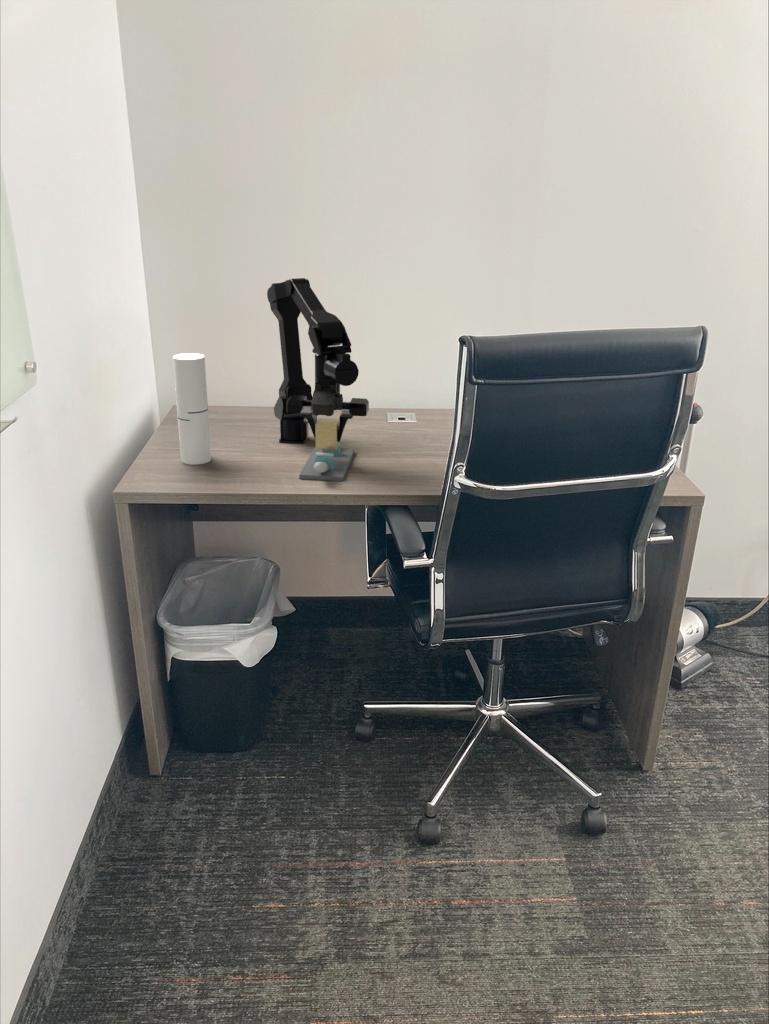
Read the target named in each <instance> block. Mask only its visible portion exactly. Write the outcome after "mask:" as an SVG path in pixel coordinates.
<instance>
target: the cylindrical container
mask: <svg viewBox="0 0 769 1024" xmlns="http://www.w3.org/2000/svg"><path fill="white" fill-rule="evenodd" d="M172 364H173V365H172V366H173V368H172V369H173V376H174V377H173V380H174V389H175V402H176V414H177V415H176V416H177V427H178V428H177V429H178V437H179V451H180V452H179V453H180V461H181V462H182V464H186V465H192V466H193V465H196V466H197V465H203V464H206V463H209V462H210V461H212V451H211V450H212V449H211V448H212V447H211V435H210V432H211V431H210V420H209V406H208V405H209V404H208V403H209V402H208V389H207V388H208V387H207V374H206V373H207V372H206V358H205V354H202V353H195V352H194V353H193V352H188V353H187V352H185V353H178V354H174V355H173V356H172Z"/></svg>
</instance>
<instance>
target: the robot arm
mask: <svg viewBox="0 0 769 1024" xmlns="http://www.w3.org/2000/svg"><path fill="white" fill-rule="evenodd" d="M266 292H267V293H266V296H267V301H268V303H269V306H270V311H271V312H272V314H273V315H274V316H275V318H276V319H277V321H278V328H279V329H278V330H279V339H280V349H281V350H280V351H281V360H282V362H281V363H282V371H283V380H282V383H281V385H280V387H279V389H278V398H277V400H276V401H275V402H276V403H275V405H274V407H273V413H274V417H275V418H277V419H278V420H279V424H280V427H279V429H280V430H279V431H280V438H279V439H278V442H279V443H288V444H305V442H306V440H307V439H308V438H309V427H310V430H311V432H312V434H313V437H314V439H315V424H316V422H317V421H318V416H326V417H331V416H334V414H335V413H334V412H335V411H340V412H341V413H340V415H339V419H340V422H339V430H338V442H340V443H341V439H342V437H343V433H344V430H345V427H346V424H347V422H348V420H352V419H353V418H354V417H366V416H367V415H368V413H369V410H370V401H369V400H368V398H358V397H351V400H350V401H344V397H343V394H342V393H341V386H342V387H343V386H345V387H348V386H351V385H352V384H354V383H355V382H356V381H357V380H358V376H359V368H358V365H357V364H356V362H354V361H353V360H352V359H351V353H352V348H351V346H352V343H351V340H350V338H349V335H348V332H347V330H346V327H345V325H344V324H343V322H342V320H340V318H338V316H337V315H336V314H333V313H330V312H329V311H327V310H326V309H325V307H324V306H323V304H322V303H321V301H320V299H319V298H318V295H316V294H315V291H313V289H312V288H311V284H310V281H309V279H307V278H304V277H301V278H299V277H298V278H289V279H287V280H285V281H282V282H277V283H276V282H275V283H271V286H270V287H269V288H268V289H267V291H266ZM300 315H302V316H303V318H304V319H305V321H306V322H307V324H308V330H307V335H308V339H309V341H310V343H311V345H312V347H313V348H312V350H311V351H312V353H313V354H314V390H313V393H312V386H311V385H310V384H308V383H307V381H306V380H305V378H304V374H303V364H302V353H301V343H300V341H301V340H300V333H299V332H300V331H299V323H298V320H299V317H300ZM349 353H350V354H349Z"/></svg>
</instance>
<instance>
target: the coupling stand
mask: <svg viewBox="0 0 769 1024" xmlns="http://www.w3.org/2000/svg"><path fill="white" fill-rule="evenodd" d="M354 455H355V448H342V447H341V443H340V444H339V446H338V449H337V450H323V449H316V446H315V447H314V448H313V449H312V451H311V453H310V455H309V457H308V458H307V460H306V462H305V464H304V465H303V468H302V469H301V471H300V473H299V475H298V477H299V478H298V479H299V480H314V481H315V480H318V481H333V482H334V481H335V482H336V481H337V482H343V481H344V479H345V477H346V475H345V474H347V472H348V470H349V467H350V465H351V463H352V459H353V457H354Z"/></svg>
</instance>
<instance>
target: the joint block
mask: <svg viewBox="0 0 769 1024" xmlns="http://www.w3.org/2000/svg"><path fill="white" fill-rule="evenodd" d="M339 422H340V418H338V419H337V418H321V417H319V418H317V422H316V424H315V438H314V441H315V442H314V443H315V447H316V449H323V450H337V449H338V446H339V444H340V445H341V441H340V442H338V430H339Z"/></svg>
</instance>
